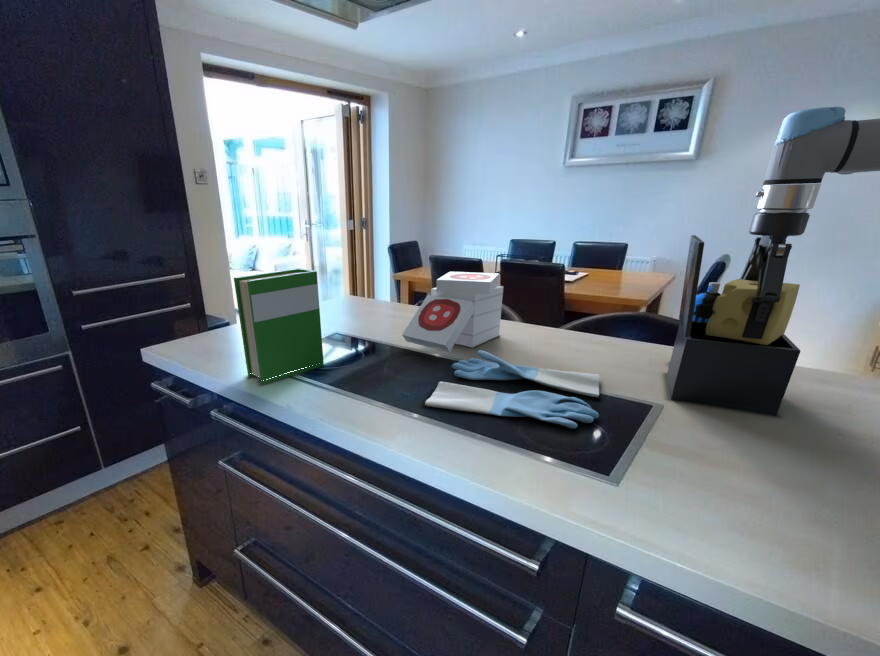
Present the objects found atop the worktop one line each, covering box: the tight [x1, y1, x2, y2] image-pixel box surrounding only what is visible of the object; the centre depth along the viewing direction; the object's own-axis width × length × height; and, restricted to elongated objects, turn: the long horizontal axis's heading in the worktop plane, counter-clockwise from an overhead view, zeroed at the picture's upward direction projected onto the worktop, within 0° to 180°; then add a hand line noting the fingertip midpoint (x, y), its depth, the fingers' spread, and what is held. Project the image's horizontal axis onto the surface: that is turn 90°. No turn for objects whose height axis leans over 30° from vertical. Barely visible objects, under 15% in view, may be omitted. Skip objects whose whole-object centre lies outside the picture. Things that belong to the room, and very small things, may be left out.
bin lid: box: [678, 234, 705, 337], centre depth 88 cm, size 17×16×1 cm
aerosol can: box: [692, 281, 722, 322], centre depth 101 cm, size 8×8×20 cm
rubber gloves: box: [424, 349, 601, 430], centre depth 93 cm, size 27×33×6 cm
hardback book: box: [233, 267, 325, 385], centre depth 106 cm, size 18×7×24 cm, turn 131°
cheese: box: [706, 278, 801, 345], centre depth 84 cm, size 10×11×10 cm
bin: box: [666, 321, 802, 416], centre depth 89 cm, size 17×16×13 cm
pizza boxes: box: [401, 271, 504, 353], centre depth 126 cm, size 19×30×18 cm, turn 135°
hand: (744, 328), depth 86 cm, fingers closed on cheese, 13 cm apart
